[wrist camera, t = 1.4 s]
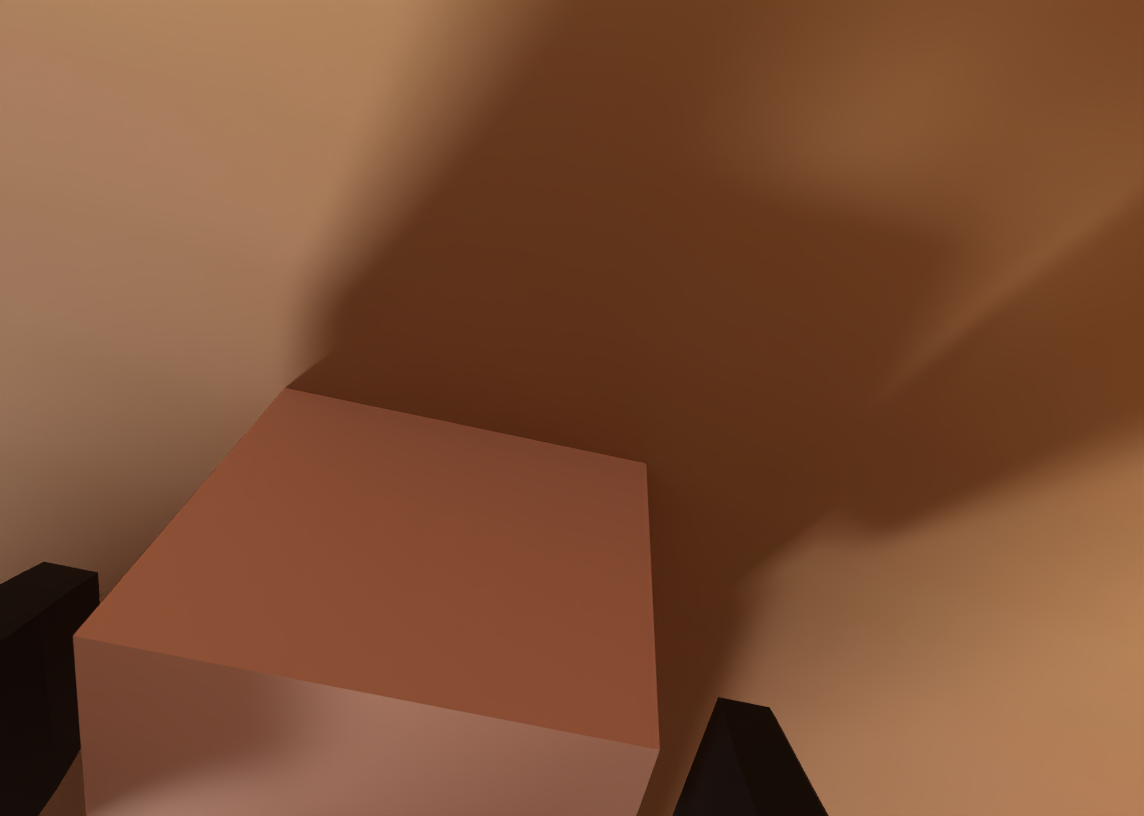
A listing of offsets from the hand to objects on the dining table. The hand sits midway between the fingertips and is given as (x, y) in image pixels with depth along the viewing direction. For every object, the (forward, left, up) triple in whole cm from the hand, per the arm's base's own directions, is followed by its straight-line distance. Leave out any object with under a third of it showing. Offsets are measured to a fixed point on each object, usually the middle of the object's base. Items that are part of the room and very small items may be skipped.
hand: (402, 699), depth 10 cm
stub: (0, 0, -3) cm, 3 cm away
